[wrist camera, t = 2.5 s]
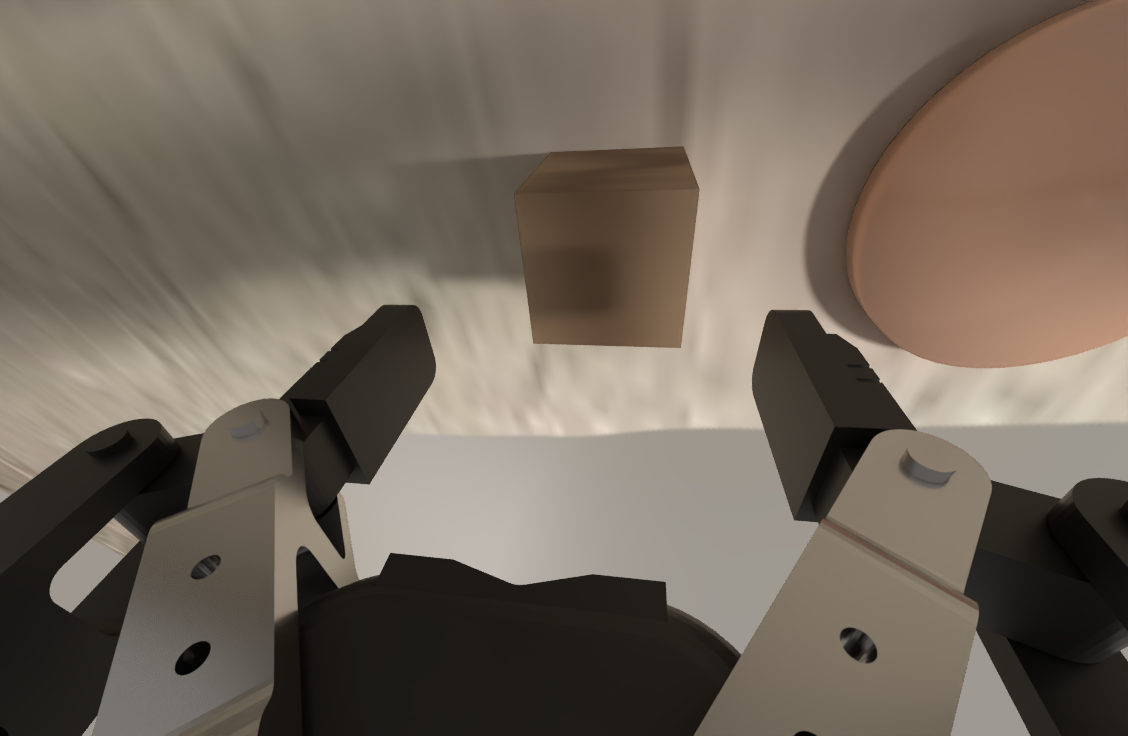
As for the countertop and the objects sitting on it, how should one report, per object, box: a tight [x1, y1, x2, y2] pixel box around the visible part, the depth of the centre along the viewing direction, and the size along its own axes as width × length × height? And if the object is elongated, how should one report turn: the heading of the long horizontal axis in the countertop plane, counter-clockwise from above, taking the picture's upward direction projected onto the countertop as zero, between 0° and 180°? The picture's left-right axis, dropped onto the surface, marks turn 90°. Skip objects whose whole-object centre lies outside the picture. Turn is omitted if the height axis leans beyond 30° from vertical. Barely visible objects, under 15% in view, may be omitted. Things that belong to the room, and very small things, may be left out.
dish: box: [846, 0, 1128, 368], centre depth 15 cm, size 12×12×2 cm
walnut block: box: [514, 147, 699, 348], centre depth 15 cm, size 5×5×6 cm
